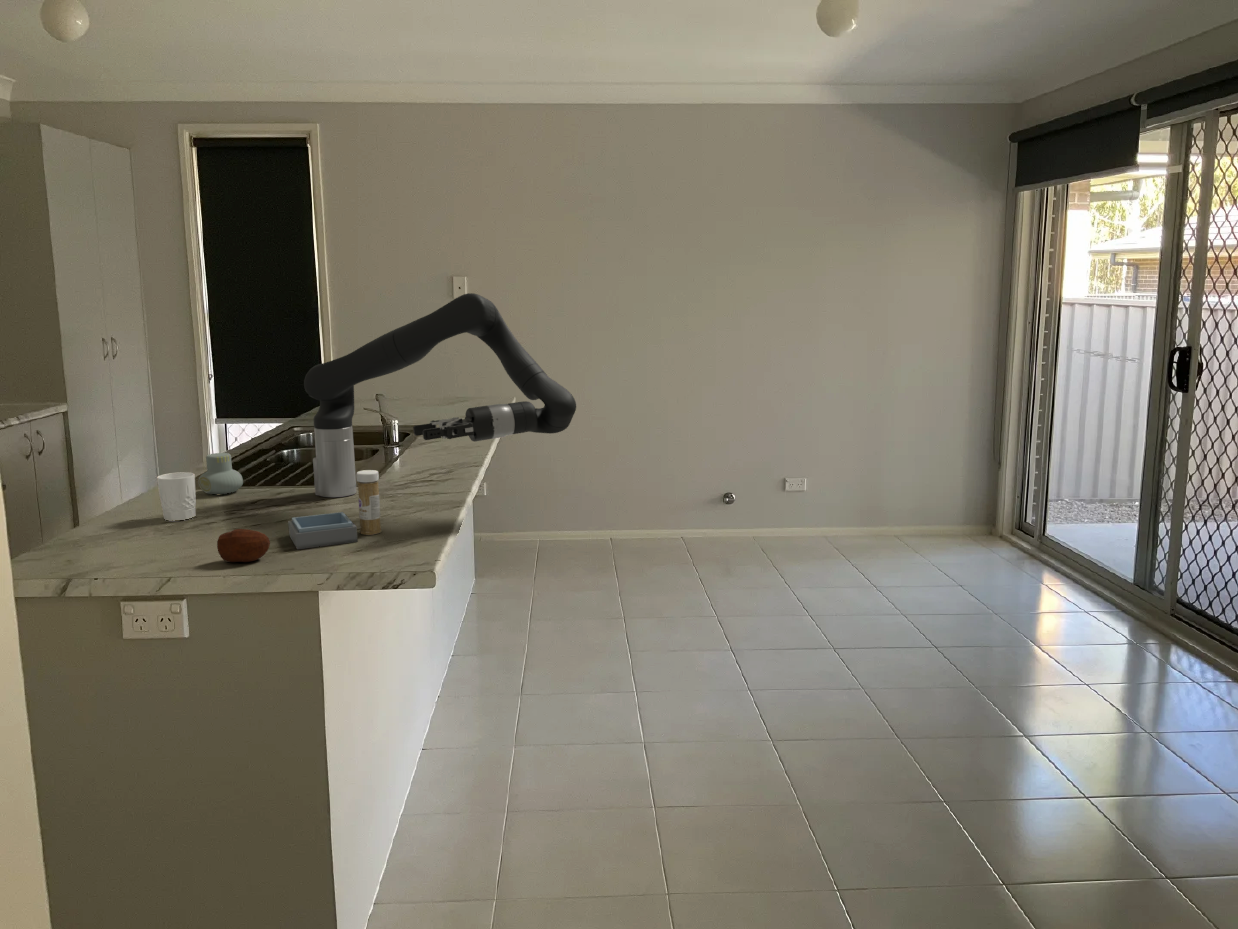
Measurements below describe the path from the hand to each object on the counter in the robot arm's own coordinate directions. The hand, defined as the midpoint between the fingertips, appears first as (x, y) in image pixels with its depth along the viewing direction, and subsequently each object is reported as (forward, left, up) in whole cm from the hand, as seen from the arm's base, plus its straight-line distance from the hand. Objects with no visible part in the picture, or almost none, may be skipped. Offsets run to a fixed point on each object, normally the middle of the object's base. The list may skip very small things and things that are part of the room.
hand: (418, 433), depth 208 cm
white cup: (-59, -4, -21) cm, 62 cm away
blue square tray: (-16, -14, -21) cm, 30 cm away
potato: (-23, -31, -21) cm, 44 cm away
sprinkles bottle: (-9, -7, -21) cm, 24 cm away
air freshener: (-66, +21, -21) cm, 73 cm away
